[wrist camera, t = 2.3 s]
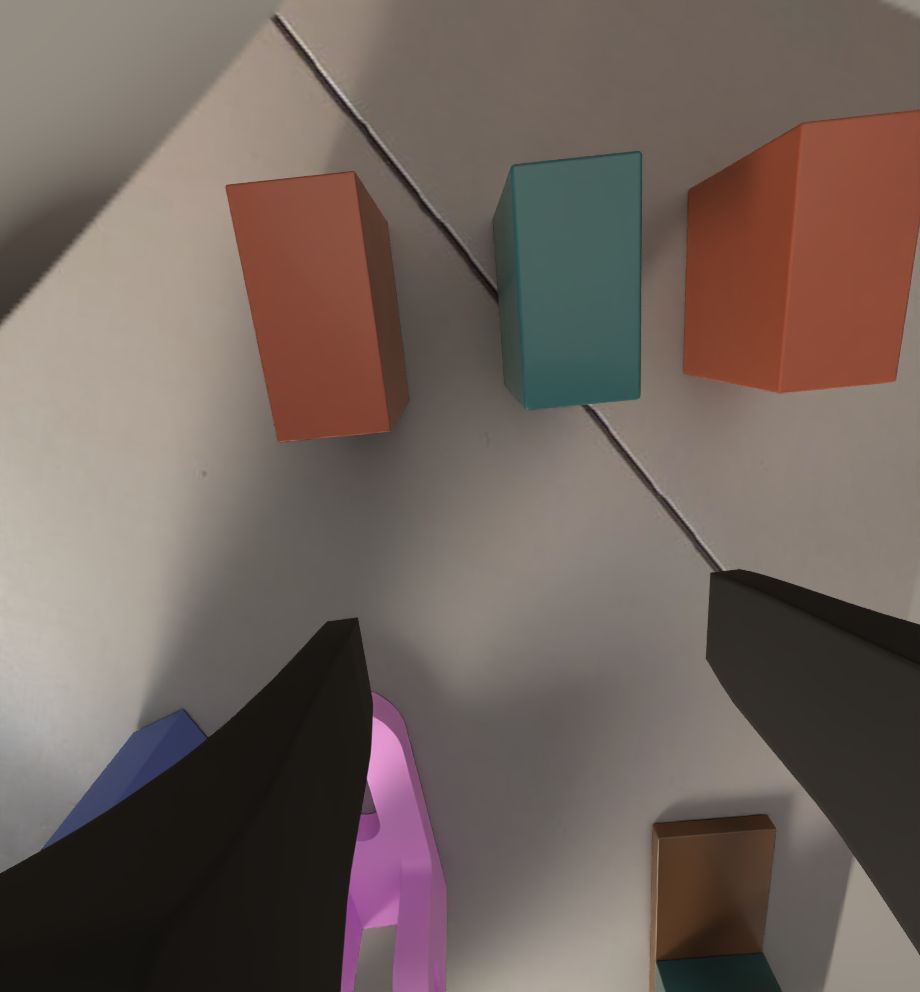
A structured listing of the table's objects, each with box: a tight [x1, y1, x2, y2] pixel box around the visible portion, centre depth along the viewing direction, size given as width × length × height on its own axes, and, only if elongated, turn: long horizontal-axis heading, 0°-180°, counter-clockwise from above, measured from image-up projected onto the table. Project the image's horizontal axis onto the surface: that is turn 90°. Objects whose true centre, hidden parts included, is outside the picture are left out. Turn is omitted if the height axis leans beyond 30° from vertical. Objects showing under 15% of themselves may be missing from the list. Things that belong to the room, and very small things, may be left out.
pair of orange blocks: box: [226, 110, 920, 442], centre depth 16 cm, size 16×6×6 cm, turn 96°
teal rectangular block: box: [493, 151, 642, 410], centre depth 16 cm, size 3×6×6 cm, turn 5°
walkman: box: [41, 710, 207, 850], centre depth 19 cm, size 8×3×12 cm, turn 27°
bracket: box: [341, 692, 447, 992], centre depth 22 cm, size 13×6×7 cm, turn 10°
